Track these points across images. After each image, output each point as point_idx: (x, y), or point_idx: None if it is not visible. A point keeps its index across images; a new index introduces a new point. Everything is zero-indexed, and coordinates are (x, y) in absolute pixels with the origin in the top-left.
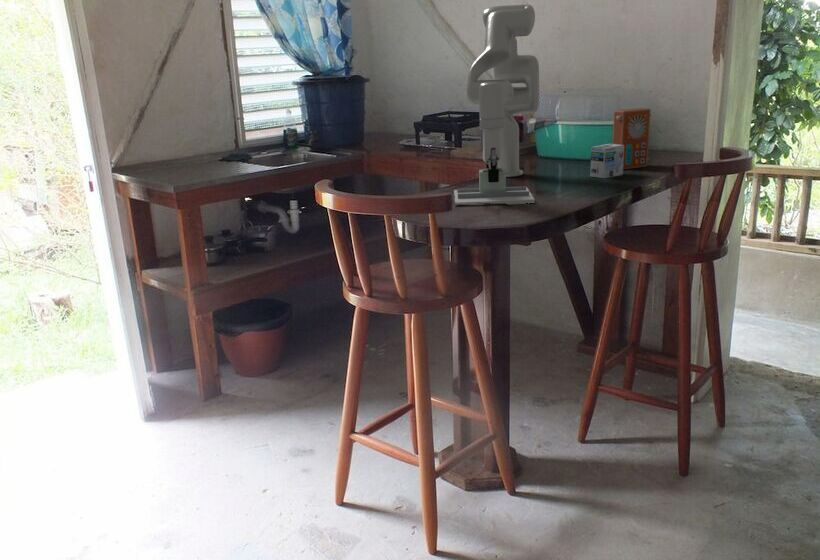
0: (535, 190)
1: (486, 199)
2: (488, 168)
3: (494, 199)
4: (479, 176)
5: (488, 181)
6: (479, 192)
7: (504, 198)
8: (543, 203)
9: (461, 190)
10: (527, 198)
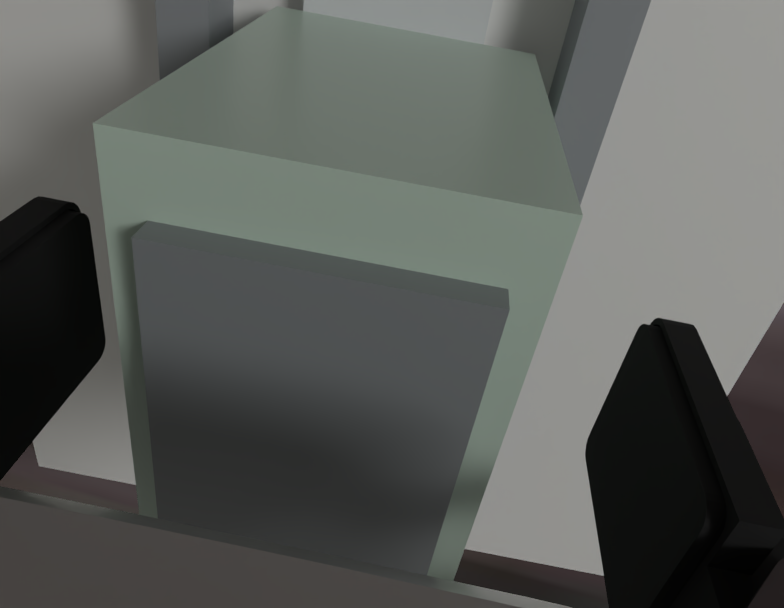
0: (598, 593)
1: (55, 43)
2: (452, 435)
3: (50, 146)
4: (401, 120)
5: (36, 198)
6: (456, 36)
7: (107, 266)
8: (64, 486)
9: None
10: (91, 438)
